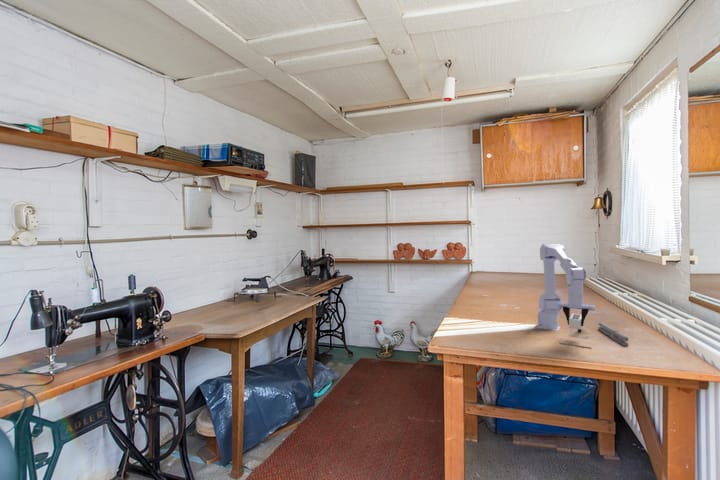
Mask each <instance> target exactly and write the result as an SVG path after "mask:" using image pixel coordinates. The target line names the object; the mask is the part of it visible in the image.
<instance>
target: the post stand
mask: <svg viewBox="0 0 720 480" xmlns="http://www.w3.org/2000/svg"><path fill="white" fill-rule="evenodd" d="M590 331H591V330H589V329H583V328H581V329H573V328H570V330H569V333H568V335H567V337H569V338H570V337H572V338H579V339H583V340H584V339H586V340H587V339H589V335H590Z"/></svg>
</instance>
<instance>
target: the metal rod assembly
mask: <svg viewBox="0 0 720 480" xmlns="http://www.w3.org/2000/svg"><path fill="white" fill-rule="evenodd" d="M598 326H599V327H598V328H597V329H598V331H600V332H602V333H603V334H605V335H606V336H607V337H609V338H611V339H612V340H614V341H615V342H617V343H619V344H620V345H622V346H623V347H624V346H625V347H628V346H629V343H628V341H629V338H628V337H627V336H625V334H622V333H620V331H619V330H617V329H614V328H612V327H611V326H609V325H608V324H606V323H604V322H602V321H598Z"/></svg>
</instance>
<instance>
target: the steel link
mask: <svg viewBox="0 0 720 480" xmlns="http://www.w3.org/2000/svg"><path fill="white" fill-rule="evenodd" d="M581 320H582V314H581V313H570V318H569V325H568V327H569V329H571V328H573V329H583V326H581Z"/></svg>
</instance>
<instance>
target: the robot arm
mask: <svg viewBox="0 0 720 480" xmlns="http://www.w3.org/2000/svg"><path fill="white" fill-rule="evenodd" d="M565 251H566V249H565V246H564V245H563V244H562V243H559V244H558V243H553V244H552V243H551V244H549V243H548V244H545V243H543V244H541V246H540V248H539V255H540V256H539V257H540V260H541V261H542V263H543V275H544V277H543V278H544V279H543V280H544V292H543V293H541V294H540V295H539V299H538V308H539V310H538V312H537V328H538V329H545V330H553V331H559V330H560V328H561V326H559V313H561V311H563V313H564V315H565V318H566V321H567V325H568V326H569V318H570V316H571V309H572V310H581V313H580V314H581V315H582V320H581V326H582V327H584V325H585V323H584V322H585V319H586V317H587V315H588V313H589V311H591V312H596V306H595V305H590V304H584V281H585V280H586V278H587V272H586V270H585V268H584V267H580V266H578V265H577V264H576V262H575V261H574V260H573V259H572V258H571V257H568V256H567V254H566V253H565ZM556 261H559V262H560V263H559V265H560V267H561V269H562V270H563V271H564V273H565V278H566V284H567V286H568V287H567V289H568V290H567V297H568V298H567V302H563V301H562V297H561V295H559V294H558V293H557V292H556V274H555V273H556V271H555V270H556V269H555V262H556Z"/></svg>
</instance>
